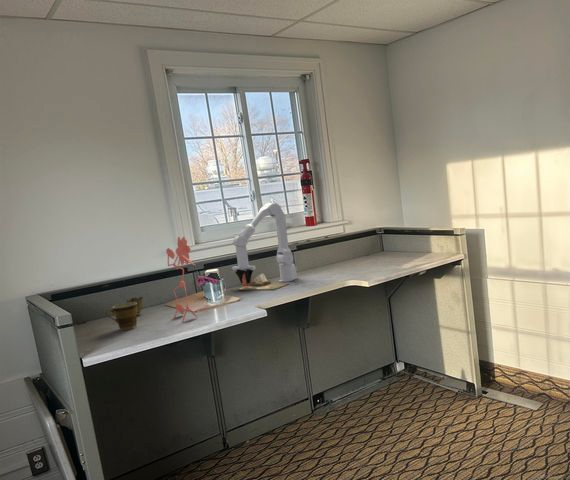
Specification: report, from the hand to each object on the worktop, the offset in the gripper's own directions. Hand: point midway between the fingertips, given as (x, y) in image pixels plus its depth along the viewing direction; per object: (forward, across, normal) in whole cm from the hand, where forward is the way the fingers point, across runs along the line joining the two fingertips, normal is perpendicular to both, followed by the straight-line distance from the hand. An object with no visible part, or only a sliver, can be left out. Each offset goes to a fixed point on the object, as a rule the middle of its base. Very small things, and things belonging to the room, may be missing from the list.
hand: (245, 283), depth 271 cm
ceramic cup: (+3, -5, -76) cm, 77 cm away
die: (0, +3, +7) cm, 7 cm away
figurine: (+3, +12, -53) cm, 55 cm away
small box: (+3, -10, -14) cm, 18 cm away
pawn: (+1, 0, 0) cm, 1 cm away
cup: (+3, -21, -56) cm, 60 cm away
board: (+3, +8, +4) cm, 10 cm away
